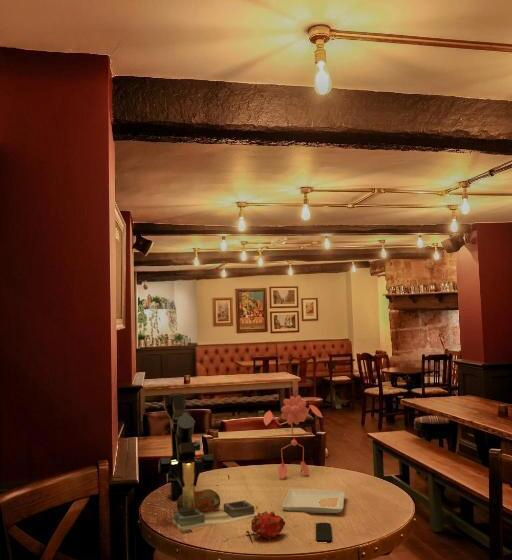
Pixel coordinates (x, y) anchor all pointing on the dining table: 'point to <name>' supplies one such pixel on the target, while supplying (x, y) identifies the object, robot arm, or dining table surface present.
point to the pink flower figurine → (295, 414)
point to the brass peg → (188, 484)
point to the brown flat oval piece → (202, 501)
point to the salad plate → (312, 500)
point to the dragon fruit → (267, 525)
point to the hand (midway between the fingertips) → (189, 486)
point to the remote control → (323, 532)
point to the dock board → (213, 516)
